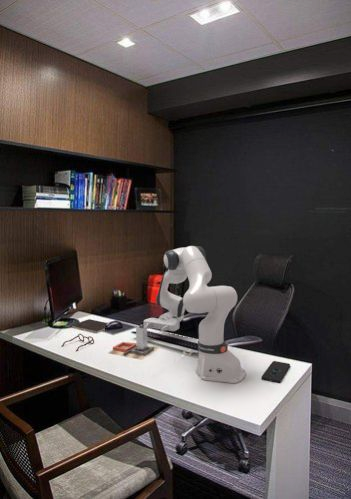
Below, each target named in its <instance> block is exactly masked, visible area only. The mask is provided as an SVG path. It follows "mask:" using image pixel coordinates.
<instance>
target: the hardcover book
mask: <svg viewBox="0 0 351 499" xmlns="http://www.w3.org/2000/svg"><path fill="white" fill-rule="evenodd" d="M107 323H108V322H105V321H100V320H95V319H89V318H88V319H85V320H81V321H79V322H76V323H73V324H71V325H70V326H71V328H72V327H73V328H74V329H76V328H77V330H80V329H81V331H84V330H85V332H90V333H92V334H93V333H94V334H97V333H101V332H103V331H106V330H105V326H106V324H107ZM73 328H72V329H73Z"/></svg>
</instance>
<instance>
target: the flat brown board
mask: <svg viewBox="0 0 351 499" xmlns="http://www.w3.org/2000/svg"><path fill="white" fill-rule="evenodd" d="M125 342H126V341H125ZM126 343H132V344H136V346H135V347H133V348H132V349H130V350H128V351H127V352H121V351H116V350H113V349H112V350H110V351H108V352H107V354H111V355H116V356H120V357H125V358H131V359H136V360H141V361H142V360H144V359H145V358H147V357H148V356H150V355H151V354H153V353H154V352H155V351H157V350H159V349H160V348H161V347H160V346H153V345H148V344H147V348H148V350H146V351H145V352H142V351H137V342H131V341H127V342H126ZM120 348H125V349H126V348H128V346H122V347H120Z"/></svg>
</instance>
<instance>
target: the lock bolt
mask: <svg viewBox="0 0 351 499" xmlns="http://www.w3.org/2000/svg"><path fill="white" fill-rule="evenodd" d="M135 334H136V337H135V338H136V339H135V340H136V342H135V343H137V351H142V352H145V351H146V350H148V348H147V345H148V329H147V326H144V324H139V325H138V326H137V327H136V328H135Z"/></svg>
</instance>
